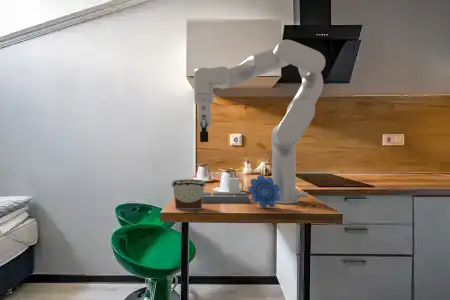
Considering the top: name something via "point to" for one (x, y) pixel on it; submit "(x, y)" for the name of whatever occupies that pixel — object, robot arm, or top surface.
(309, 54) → the robot arm
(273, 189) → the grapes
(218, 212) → the top surface
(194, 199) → the food container
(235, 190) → the fader tab
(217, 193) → the fader base
